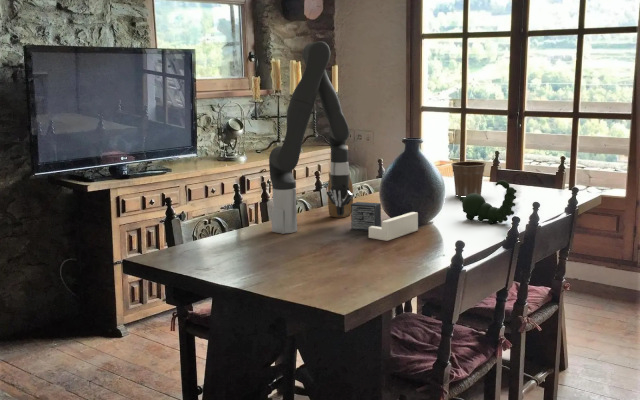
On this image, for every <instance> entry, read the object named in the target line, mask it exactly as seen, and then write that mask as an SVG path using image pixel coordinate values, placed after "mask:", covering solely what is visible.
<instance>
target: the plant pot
mask: <svg viewBox="0 0 640 400" xmlns="http://www.w3.org/2000/svg"><path fill="white" fill-rule="evenodd" d="M450 165H451V167H452V172H453V178H454V179H453V180H454V182H453V183H454V191H455V193H454V194H455V196H456V195H458V196H467V195H469V194H472V193H476V194H479V195H481V196H482V188H483V179H484V172H485V166H486V163H485V162H482V161H472V160H471V161H470V160H469V161H468V160H467V161H455V162H451V164H450Z"/></svg>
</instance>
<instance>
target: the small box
mask: <svg viewBox="0 0 640 400" xmlns="http://www.w3.org/2000/svg"><path fill="white" fill-rule="evenodd" d="M381 210H382V203H380V202H365V201H356V202H353V204H351V214H350V215H351V216H350V217H351V218H350V219H351V231H360V232H361V231H363V232H369V227H371V226H377V227H382V211H381Z"/></svg>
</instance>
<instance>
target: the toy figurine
mask: <svg viewBox="0 0 640 400" xmlns="http://www.w3.org/2000/svg"><path fill="white" fill-rule="evenodd" d="M495 186H502V188H503V189H506V190H505V194H504V196H503V197H504V198H503V200H502V203H501V205H500V207H496V206H493V205H491V203H488V202H486V199H485V198H484V196H482V194H481V195H479V194H476V193H472V194H469V195H467V196H466V197H461V196H458V197H457V199H459V201H460V202H461V205H462V206H461V207H462V211H463V213H465V214H466V215H465V217H466V220H468V219H472V220H474V219H475V217H477V221H478V222H480V223H481V222H483V221H484V220H485V221H486V220H487V223H488V224H489V223H492V224H493V223H497V221H498V223H499V224H502V223H503V222H507V221H508V217H510V216H514V214H515V211H514V210H513V209H512V208H513V207H515V206H517V205H516V202H514V201H515V200H516V199H517V196H516V195H515V194H516V193H517V190H516V189H515V188H514V187H512V186H510V183H509V182H508V181H506V180H498V181H497V182H495ZM507 216H508V217H507Z"/></svg>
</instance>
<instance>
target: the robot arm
mask: <svg viewBox="0 0 640 400" xmlns="http://www.w3.org/2000/svg"><path fill="white" fill-rule="evenodd" d="M330 49H331V48H330V47H329V44H327V42H325V41H315V42H310V43H308V44H306V45H305V47H303V50H302V55H301V56H302V59H303V62H304V64H305V68H304V71H303V74H302V76H301V78H300V80H299V82H298V83H297V85H296V87H295V89H294V91H293V92H292V95H291V97H290V100H289V103H288V106H287V111H286V132H285V137H284V140H283V143H282V145H279V146H276V147H274V148H273V149H272V150H271V151H270V153H269V157H268V165H269V166H268V167H269V177H270V182H271V184H272V185H271V186H272V187H271V188H272V208H271V211H270V212H271V213H270V214H271V232H272V233H277V234H282V235H283V234H291V233H295V232H297V231H298V217H297V216H298V214H297V213H298V211H297V182H296V180H295V178H294V176H293V173H292V171H293V170H294V169H295V168H296V167H297V165H298V163H299V160H300V156H301V149H302V145H303V141H304V137H305V134H306V130H307V129H308V128H307V127H308V126H309V125H308V124H309V121H310V119H311V116H312V112H313V109H314V106H315V102H316V98H317V94H318V97H319V100H320V104H321V108H322V109H323V113H324V116H325V118H326V119H327V121H328V124H329V126H330V127H329V129H328V141H329V146H330V147H329V148H330V167H329V168H330V170H329V173H330V177H331V185H332V186H331V190H330V191H328V190H327V191H326V195H327V198H328V197H329V199H330V200H331V202H332V204H335V205H336V209H337V215H339V216H342V215H343V214H344V206H345V205H348V204H349V202H350V201H351V199H352V198H353V199H354V196H355V194H354V192H353V193H352V194H351V192H350V191H349V187H348V185H349V173H350V164H349V149H348V147H347V143H346V141H347V140H348V138H349V137H350V128H349V127H350V126H349V124H348V122H347V120H346V119H347V118H346V117H345V115H344V113H343V110H342V106H341V102H340V99H339V97H338V93H337V91H336V89H335V88H334V87H335V86H333V84H332V82H331V80H330V78H329V76H328V73H327V70H326V68H327V66H328V64H329V61H330V59H331V50H330Z"/></svg>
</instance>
